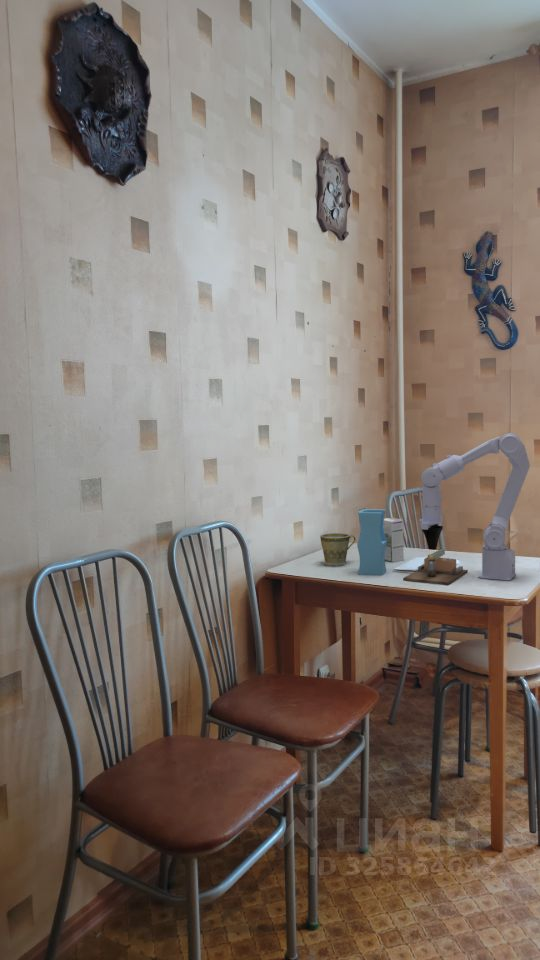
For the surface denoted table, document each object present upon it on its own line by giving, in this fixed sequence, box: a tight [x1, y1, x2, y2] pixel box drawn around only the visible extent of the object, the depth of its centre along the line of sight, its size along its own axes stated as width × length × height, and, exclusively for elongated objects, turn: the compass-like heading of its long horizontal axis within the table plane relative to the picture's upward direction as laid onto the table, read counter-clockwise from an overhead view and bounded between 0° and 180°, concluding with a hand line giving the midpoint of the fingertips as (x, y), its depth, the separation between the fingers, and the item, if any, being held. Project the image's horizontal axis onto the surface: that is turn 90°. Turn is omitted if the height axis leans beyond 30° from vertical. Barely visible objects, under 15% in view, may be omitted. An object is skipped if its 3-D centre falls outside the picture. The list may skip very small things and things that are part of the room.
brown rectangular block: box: [423, 556, 457, 572], centre depth 223 cm, size 9×4×4 cm, turn 58°
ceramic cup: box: [319, 532, 356, 567], centre depth 243 cm, size 13×10×10 cm
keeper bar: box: [427, 548, 446, 561], centre depth 221 cm, size 12×2×2 cm, turn 148°
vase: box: [356, 508, 387, 577], centre depth 228 cm, size 8×8×20 cm
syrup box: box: [383, 517, 405, 563], centre depth 247 cm, size 6×6×14 cm
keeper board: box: [402, 561, 469, 586], centre depth 220 cm, size 14×19×6 cm
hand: (432, 549), depth 223 cm, fingers closed
